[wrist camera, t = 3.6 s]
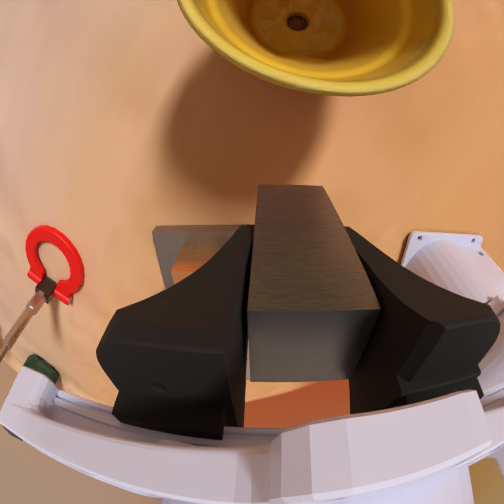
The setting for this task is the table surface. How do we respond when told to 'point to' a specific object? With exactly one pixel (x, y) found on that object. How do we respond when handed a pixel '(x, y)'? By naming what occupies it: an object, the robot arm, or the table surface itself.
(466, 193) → the table surface
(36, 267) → the tow hook
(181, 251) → the bracket fixture
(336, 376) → the pin
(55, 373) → the coffee jar
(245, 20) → the plant pot
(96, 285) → the table surface
